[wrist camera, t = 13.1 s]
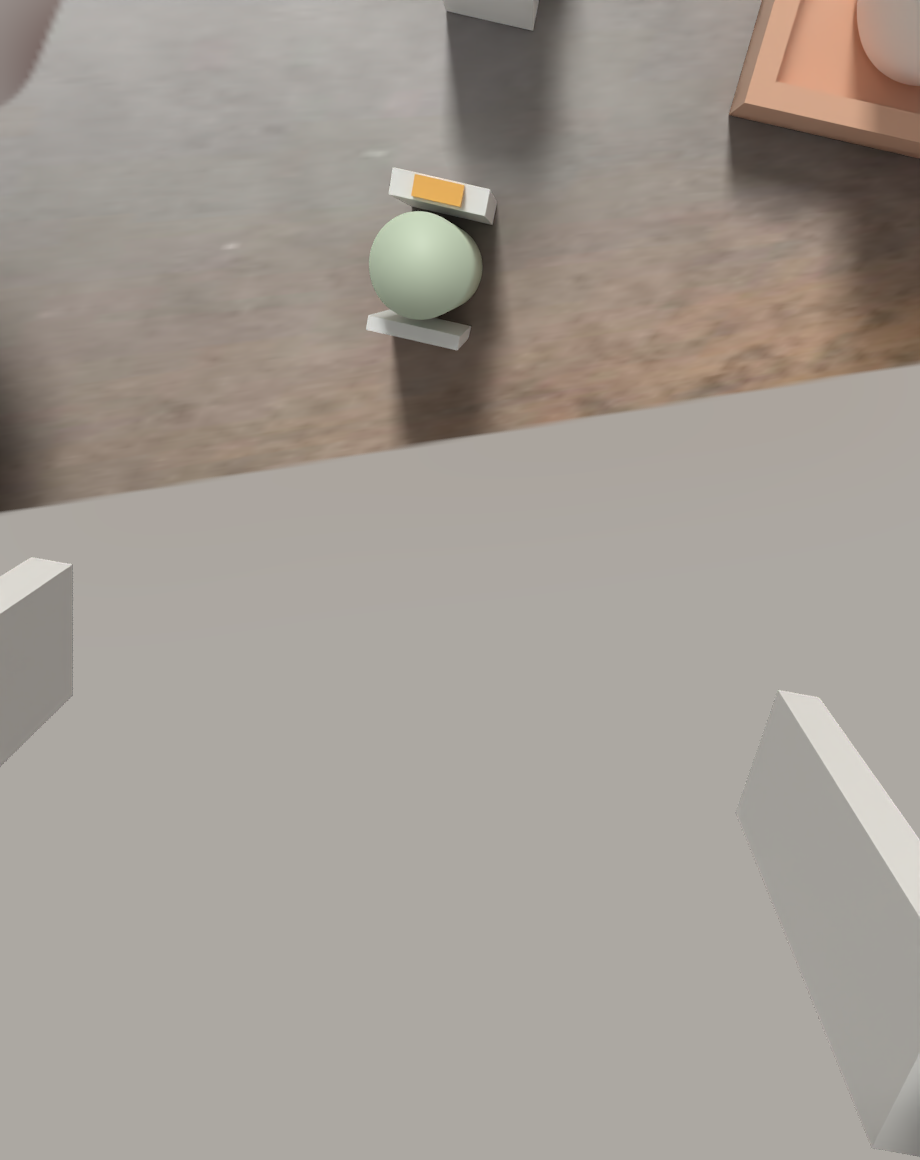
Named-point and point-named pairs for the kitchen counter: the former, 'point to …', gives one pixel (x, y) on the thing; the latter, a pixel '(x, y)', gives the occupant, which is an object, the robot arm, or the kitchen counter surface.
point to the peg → (424, 265)
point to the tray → (823, 79)
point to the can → (892, 37)
